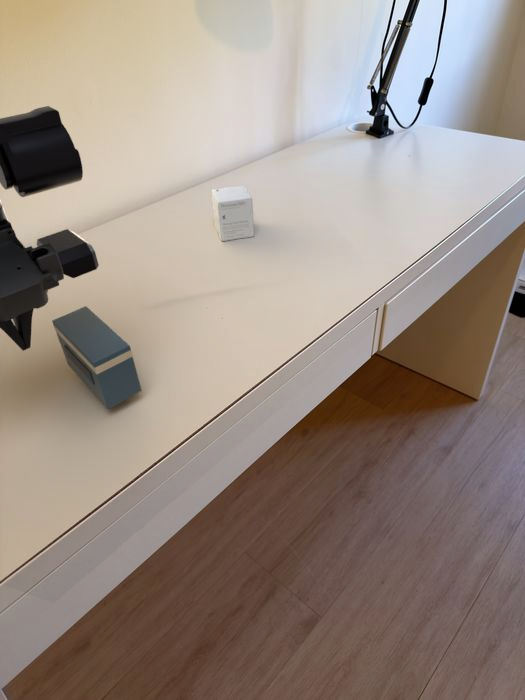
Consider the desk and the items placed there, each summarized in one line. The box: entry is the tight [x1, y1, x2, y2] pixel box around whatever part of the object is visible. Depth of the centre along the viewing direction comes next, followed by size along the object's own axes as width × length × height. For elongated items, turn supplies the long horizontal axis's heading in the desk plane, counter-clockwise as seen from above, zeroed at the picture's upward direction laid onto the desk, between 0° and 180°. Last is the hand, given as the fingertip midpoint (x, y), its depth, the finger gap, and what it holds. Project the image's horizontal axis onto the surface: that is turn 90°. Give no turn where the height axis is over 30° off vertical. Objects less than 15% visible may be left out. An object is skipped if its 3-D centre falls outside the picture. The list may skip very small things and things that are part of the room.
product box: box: [211, 185, 255, 242], centre depth 93 cm, size 6×6×7 cm
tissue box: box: [51, 305, 142, 410], centre depth 63 cm, size 11×5×7 cm, turn 41°
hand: (25, 347), depth 57 cm, fingers closed
